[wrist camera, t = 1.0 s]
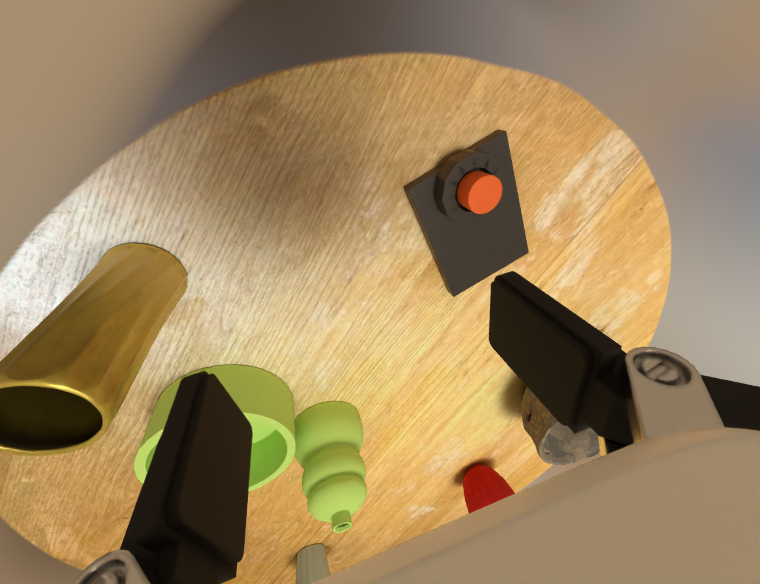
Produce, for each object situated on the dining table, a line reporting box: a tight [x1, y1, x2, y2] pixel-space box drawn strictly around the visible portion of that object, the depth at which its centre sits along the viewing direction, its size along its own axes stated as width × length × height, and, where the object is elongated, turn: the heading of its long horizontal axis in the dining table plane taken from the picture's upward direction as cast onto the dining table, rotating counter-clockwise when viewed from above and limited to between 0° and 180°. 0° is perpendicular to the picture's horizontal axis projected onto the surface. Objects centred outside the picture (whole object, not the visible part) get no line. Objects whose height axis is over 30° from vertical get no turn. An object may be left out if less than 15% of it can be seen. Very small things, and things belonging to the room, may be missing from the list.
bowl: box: [521, 387, 600, 465], centre depth 48 cm, size 21×21×10 cm
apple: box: [463, 464, 515, 514], centre depth 59 cm, size 10×10×11 cm
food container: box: [134, 365, 367, 533], centre depth 33 cm, size 25×14×13 cm, turn 56°
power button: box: [457, 171, 502, 214], centre depth 26 cm, size 3×3×2 cm
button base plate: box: [404, 130, 529, 297], centre depth 30 cm, size 15×10×3 cm
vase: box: [0, 243, 187, 456], centre depth 20 cm, size 6×6×14 cm
